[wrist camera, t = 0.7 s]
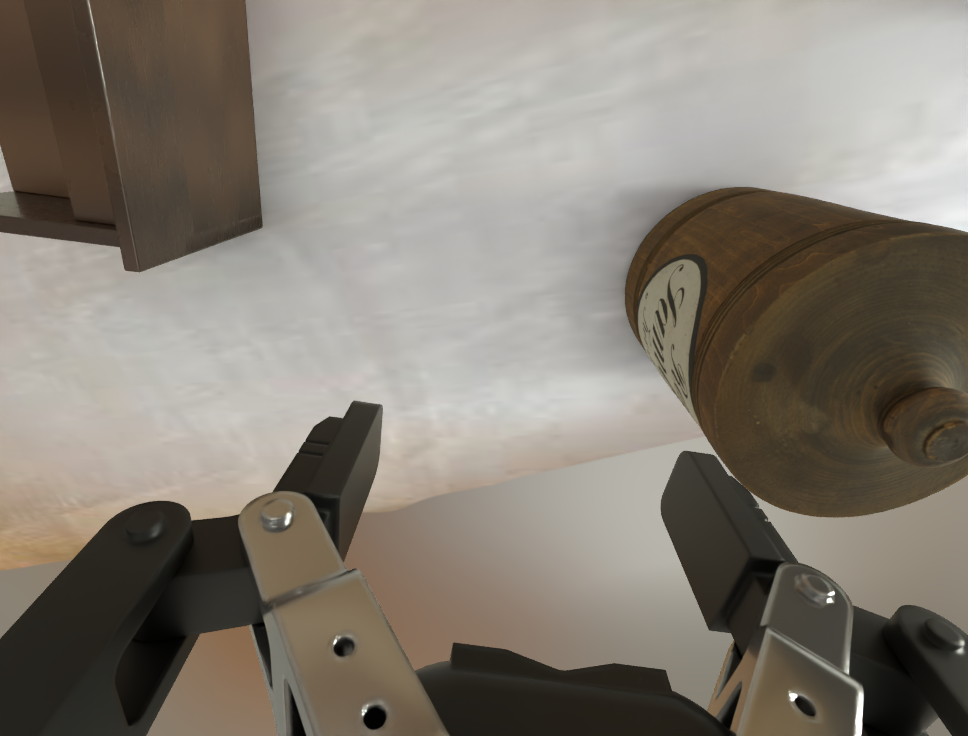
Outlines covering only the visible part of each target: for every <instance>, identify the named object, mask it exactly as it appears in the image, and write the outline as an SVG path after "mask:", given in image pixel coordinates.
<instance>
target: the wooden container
mask: <svg viewBox="0 0 968 736" xmlns="http://www.w3.org/2000/svg"><path fill="white" fill-rule="evenodd" d="M625 305H626V312H627V316H628V319H629V323H630V325H631V328H632V330H633V332H634V334H635V336H636V337H637V339H638V341H639V342H640V344H641V345H642V347H643V348H644V350H645V351H646V353H647V354H648V356H649V357H650V359H651V360H652V362H653V363H654V365H655V367H656V368H657V370H658V371H659V373H660V374H661V376H662V377H663V378H664V380H665V381H666V383H667V384H668V385H669V387H670V388H671V389H672V391H673V392H674V393H675V395H676V396H677V397H678V398H679V400H680V401H681V402H682V404H683V405H684V406H685V408H686V409H687V411H688V412H689V413H690V415H691V416H692V417H693V419H694V420H695V421H696V423H697V424H698V425H699V427H700V428H701V429H702V431H703V433H704V434H705V436H706V437H707V439H708V441H709V443H710V444H711V445H712V447H713V449H714V450H715V452H716V453H717V455H718V456H719V457H720V459H721V460H722V461H723V463H724V464H725V465H726V467H727V468H728V469H729V470H730V472H731V473H732V474H733V475H734V476H735V478H736V479H737V480H738V481H739V482H740V483H741V484H742V485H743V486H744V487H745V488H747V489H748V490H749V491H750V492H752V493H753V494H754V495H756V496H757V497H759V498H761V499H762V500H764V501H766V502H768V503H770V504H772V505H774V506H776V507H778V508H781V509H784V510H787V511H790V512H795V513H798V514H803V515H809V516H816V517H854V516H862V515H869V514H873V513H878V512H884V511H887V510H890V509H894V508H898V507H901V506H904V505H907V504H910V503H912V502H915V501H918V500H920V499H923V498H925V497H928V496H930V495H932V494H934V493H937V492H939V491H941V490H943V489H945V488H946V487H949V486H950V485H952V484H954V483H956V482H958V481H959V480H961V479H962V478H964V477H965V476H967V475H968V232H964V231H960V230H956V229H952V228H948V227H943V226H938V225H932V224H928V223H921V222H913V221H907V220H903V219H898V218H893V217H889V216H884V215H880V214H875V213H871V212H866V211H862V210H858V209H854V208H850V207H846V206H842V205H838V204H834V203H831V202H826V201H822V200H818V199H814V198H809V197H804V196H799V195H794V194H788V193H782V192H776V191H770V190H765V189H759V188H751V187H734V188H725V189H720V190H716V191H712V192H709V193H706V194H703V195H701V196H698V197H696V198H694V199H691V200H690V201H688V202H686V203H684V204H683V205H681V206H679V207H678V208H676V209H675V210H673V211H672V212H671V213H669V214H668V215H667V216H666V217H665V218H663V219H662V220H661V221H660V222H659V223H658V224H657V225H656V226H655V227H654V228H653V229H652V230H651V232H650V233H649V234H648V236H647V237H646V238H645V240H644V241H643V242H642V244H641V246H640V247H639V249H638V251H637V253H636V254H635V257H634V259H633V261H632V264H631V266H630V269H629V273H628V276H627V281H626V288H625Z"/></svg>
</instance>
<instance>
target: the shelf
mask: <svg viewBox="0 0 968 736" xmlns="http://www.w3.org/2000/svg"><path fill="white" fill-rule="evenodd" d="M0 145H1V149H2V152H3V156H4V159H5V163H6V166H7V170H8V173H9V177H10V180H11V184H12V187H13V190H14V192H4V193H0V232H4V233H12V234H19V235H27V236H35V237H43V238H51V239H59V240H67V241H75V242H83V243H91V244H99V245H107V246H115V247H120V249H121V254H122V259H123V264H124V268H125V270H126V271H134V272H142V271H144V270H147V269H150V268H153V267H155V266H158V265H161V264H164V263H167V262H169V261H172V260H175V259H178V258H180V257H183V256H186V255H189V254H191V253H194V252H197V251H200V250H202V249H205V248H208V247H211V246H214V245H216V244H219V243H222V242H225V241H227V240H230V239H233V238H236V237H238V236H241V235H244V234H247V233H249V232H252V231H255V230H258V229H260V228H262V219H261V205H260V192H259V179H258V166H257V153H256V140H255V127H254V113H253V100H252V87H251V74H250V61H249V48H248V35H247V22H246V9H245V0H0Z"/></svg>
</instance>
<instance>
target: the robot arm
mask: <svg viewBox="0 0 968 736" xmlns="http://www.w3.org/2000/svg"><path fill="white" fill-rule="evenodd" d="M382 414H383V407H382V405H380V404H373V403H366V402H360V401H353V402H352V403H351V405H350V407H349V409H348V411H347V412H346V414H345V416H344V418H337V417H330V416H329V417H328V418H326V419H325V420H323V421H322V422H320V423H319V424H317V425H316V426H314V427H313V429H312V431H311V432H310V434H309V435H308V437H307V438H306V442H304V443H303V445H302V446H301V448H300V450H299V453H297V454H296V456H295V457H294V459H293V461H292V462H291V464H290V465H289V467H288V468H287V470H286V472H285V473H284V475H283V476H282V478H281V479H280V481H279V483H278V484H277V486H276V487H275V489H274V490H273V492H272V493H268V494H265V495H262V496H260V497H258V498H256V499H254V500H253V501H251V502H250V503H249V504H247V505H246V506H245V507H244V509H243V510H242V511H241V513H240V514H238V515H234V516H229V517H222V518H212V519H203V520H193V521H191V517H190V513H189V511H188V510H187V509H186V508H185V507H184V506H182V505H181V504H178V503H175V502H170V501H152V502H147V503H142V504H139V505H136V506H133V507H130V508H128V509H126V510H124V511H122V512H120V513H119V514H117V515H115V516H114V517H113V518H111V519H110V520H109V521H108V522H107V523H106V524H105V525H104V526H103V527H102V528H101V529H100V530H99V531H98V533H97V534H96V535H95V536H94V537H93V538H92V539H91V540H90V541H89V542H88V543H87V545H86V546H85V547H84V548H83V549H82V550H81V551H80V552H79V553H78V554H77V555H76V557H75V558H74V559H73V560H72V561H71V562H70V563H69V564H68V565H67V567H66V568H65V569H64V570H63V571H62V572H61V573H60V574H59V575H58V576H57V578H55V580H54V581H53V582H52V583H51V584H50V585H49V586H48V587H47V588H46V589H45V591H44V592H43V593H42V594H41V595H40V596H39V597H38V598H37V599H36V600H35V601H34V603H33V604H32V605H31V606H30V607H29V608H28V609H27V610H26V611H25V613H23V615H22V616H21V617H20V618H19V619H18V620H17V621H16V622H15V623H14V624H13V626H12V627H11V628H10V629H9V630H8V631H7V632H6V633H5V634H4V635H3V636H2V638H1V639H0V736H146V735H147V733H148V731H149V729H150V727H151V725H152V723H153V721H154V720H155V718H156V716H157V714H158V712H159V710H160V708H161V707H162V705H163V703H164V701H165V699H166V697H167V695H168V693H169V691H170V690H171V688H172V686H173V684H174V682H175V680H176V678H177V676H178V674H179V672H180V671H181V669H182V667H183V665H184V663H185V661H186V659H187V657H188V655H189V654H190V652H191V650H192V648H193V646H194V644H195V642H196V640H197V639H198V637H199V635H200V634H201V633H206V632H212V631H218V630H223V629H229V628H235V627H241V626H247V625H249V627H250V631H251V635H252V638H253V642H254V645H255V649H256V652H257V656H258V659H259V663H260V666H261V670H262V673H263V676H264V679H265V684H266V687H267V690H268V694H269V697H270V701H271V705H272V709H273V714H274V719H275V725H276V730H277V735H278V736H929V735H928V734H927V732H926V731H925V730H926V729H927V728H928V727H929V726H930V725H931V724H932V723H933V722H934V721H935V720H936V719H937V718H938V717H939V718H940V719H941V721H942V722H943V723H944V725H945V726H946V728H947V729H948V731H949V732H950V734H951V735H952V736H968V635H967V634H966V633H964V632H963V631H962V630H961V629H960V628H958V627H957V626H956V625H954V624H953V623H951V622H950V621H948V620H947V619H945V618H943V617H941V616H940V615H938V614H936V613H934V612H932V611H930V610H927V609H924V608H921V607H918V606H913V605H904V606H901V607H900V608H898V610H897V611H896V612H895V613H894V615H893V616H892V617H891V618H890V619H888V618H885V617H882V616H879V615H877V614H874V613H872V612H869V611H867V610H864V609H861V608H859V607H856V606H853V605H852V602H851V600H850V599H849V597H848V595H847V594H846V593H845V592H844V590H843V589H842V588H841V587H840V586H839V585H838V584H837V583H836V582H834V581H833V580H832V579H831V578H829V577H828V576H826V575H825V574H823V573H822V572H820V571H818V570H816V569H814V568H812V567H810V566H808V565H805V564H801V563H798V561H797V560H796V558H795V557H794V555H793V554H792V552H791V551H790V550H789V548H788V547H787V545H786V544H785V542H784V541H783V539H782V538H781V537H780V535H779V534H778V532H777V531H776V529H775V528H774V526H772V524H771V522H768V518H767V516H766V515H765V514H764V512H763V511H762V509H759V505H758V503H757V502H756V500H755V499H754V498H753V496H752V495H751V493H750V492H749V491H748V490H747V489H746V488H745V487H744V486H743V485H741V484H740V483H739V482H738V481H737V480H736V479H734V478H733V477H732V476H728V474H727V473H726V471H725V470H724V468H723V467H722V465H721V464H720V462H719V461H718V459H717V458H716V457H715V456H714V455H711V454H704V453H697V452H691V451H683V452H682V453H681V454H680V455H679V457H678V459H677V461H676V464H675V466H674V469H673V471H672V473H671V476H670V478H669V480H668V483H667V486H666V488H665V490H664V493H663V495H662V499H661V515H662V519H663V521H664V523H665V526H666V528H667V531H668V533H669V536H670V538H671V540H672V542H673V545H674V548H675V550H676V552H677V555H678V557H679V559H680V562H681V564H682V567H683V569H684V571H685V574H686V576H687V578H688V581H689V583H690V586H691V588H692V591H693V593H694V595H695V598H696V600H697V602H698V605H699V607H700V610H701V612H702V614H703V616H704V619H705V622H706V624H707V626H708V629H709V630H711V631H718V632H726V633H731V634H732V636H733V639H734V641H733V643H732V644H731V646H730V648H729V650H728V652H727V655H726V658H725V660H724V663H723V666H722V669H721V672H720V675H719V678H718V680H717V683H716V686H715V689H714V692H713V694H712V697H711V700H710V703H709V706H708V709H707V711H706V710H705V709H703V708H702V707H701V706H699V705H698V704H696V703H694V702H693V701H691V700H690V699H688V698H686V697H684V696H682V695H680V694H678V693H676V692H674V691H672V690H671V686H670V683H669V680H668V677H667V673H666V670H662V669H654V668H646V667H638V666H631V665H623V664H615V663H614V664H607V665H600V666H594V667H587V668H581V669H574V670H567V671H563V670H558V669H555V668H552V667H550V666H547V665H544V664H542V663H540V662H537V661H535V660H532V659H529V658H527V657H524V656H522V655H519V654H516V653H514V652H512V651H509V650H506V649H499V648H491V647H483V646H476V645H469V644H460V643H453V647H452V652H451V657H450V661H444V662H439V663H435V664H432V665H428V666H425V667H423V668H421V669H418V670H416V671H414V669H413V667H412V665H411V663H410V662H409V659H408V658H407V656H406V654H405V652H404V650H403V649H402V646H401V645H400V643H399V641H398V639H397V637H396V635H395V633H394V632H393V630H392V628H391V626H390V624H389V622H388V620H387V619H386V617H385V615H384V613H383V611H382V609H381V607H380V605H379V604H378V602H377V600H376V598H375V596H374V594H373V592H372V590H371V589H370V587H369V585H368V583H367V581H366V579H365V578H364V576H363V575H362V573H361V572H360V571H359V570H358V569H352V570H350V571H348V570H347V568H346V567H345V565H344V560H345V557H346V554H347V552H348V549H349V546H350V544H351V541H352V538H353V535H354V532H355V530H356V527H357V524H358V522H359V519H360V516H361V513H362V511H363V508H364V505H365V503H366V500H367V497H368V494H369V492H370V489H371V486H372V483H373V481H374V478H375V475H376V471H377V467H378V462H379V455H380V442H381V428H382Z"/></svg>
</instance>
